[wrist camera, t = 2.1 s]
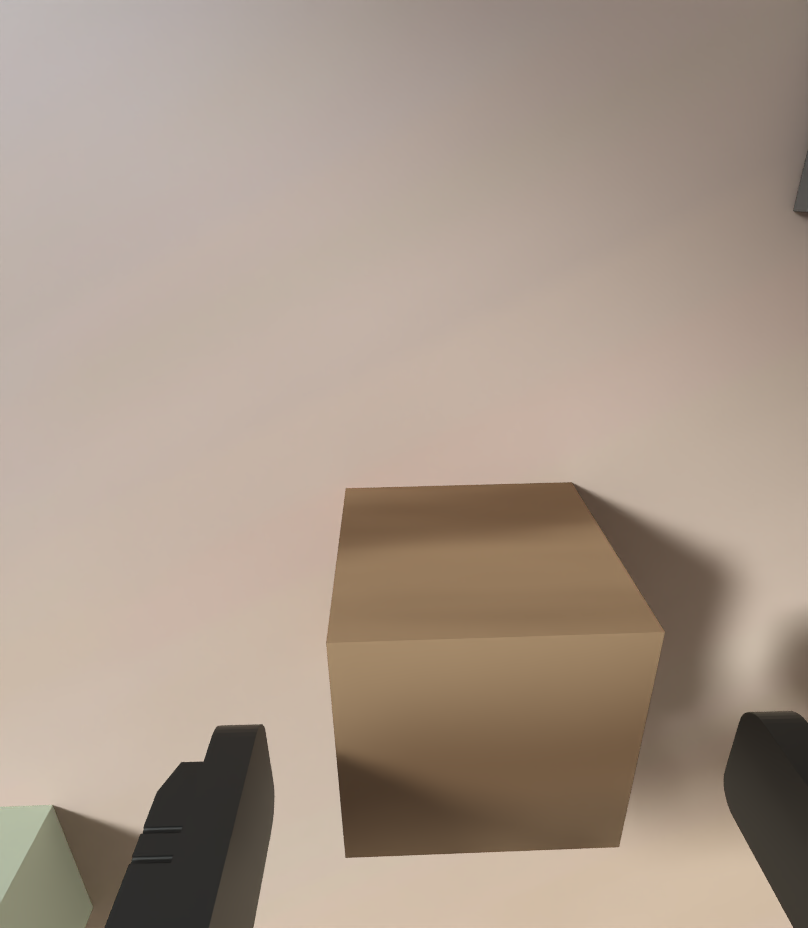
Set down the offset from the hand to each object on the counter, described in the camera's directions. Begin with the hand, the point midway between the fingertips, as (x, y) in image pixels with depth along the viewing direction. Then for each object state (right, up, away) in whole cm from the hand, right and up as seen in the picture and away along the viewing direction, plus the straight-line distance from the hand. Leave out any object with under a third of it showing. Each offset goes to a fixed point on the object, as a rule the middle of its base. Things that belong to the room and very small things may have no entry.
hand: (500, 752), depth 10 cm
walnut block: (0, +2, +4) cm, 5 cm away
